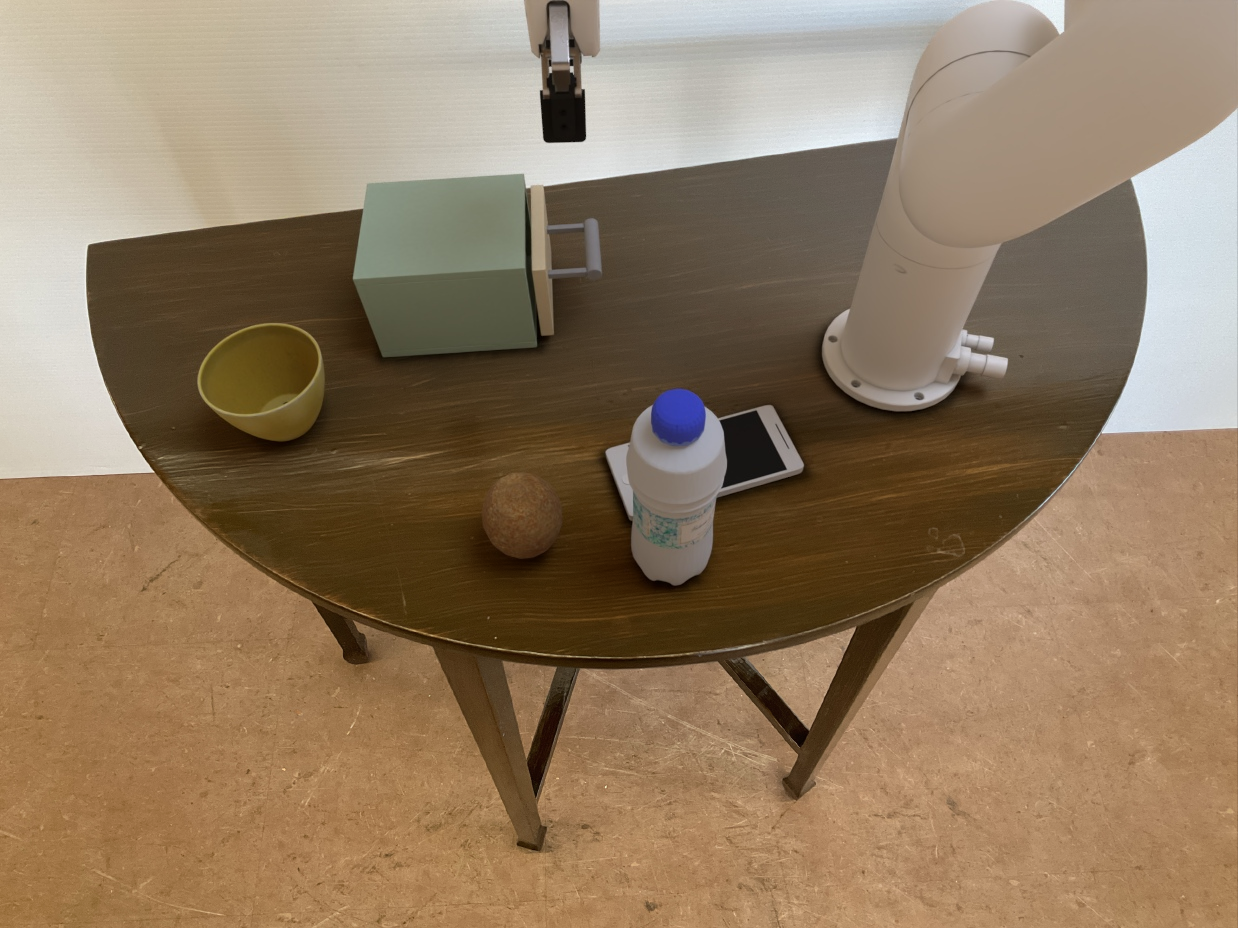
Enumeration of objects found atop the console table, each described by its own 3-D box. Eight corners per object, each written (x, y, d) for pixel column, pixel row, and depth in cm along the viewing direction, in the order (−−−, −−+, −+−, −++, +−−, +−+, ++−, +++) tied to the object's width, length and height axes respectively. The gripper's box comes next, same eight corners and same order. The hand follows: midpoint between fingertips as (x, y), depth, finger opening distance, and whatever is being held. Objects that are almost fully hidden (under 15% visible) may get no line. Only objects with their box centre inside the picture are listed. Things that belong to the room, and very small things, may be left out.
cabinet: (535, 255, 88) (524, 173, 80) (537, 347, 81) (524, 268, 73) (393, 264, 88) (366, 183, 79) (382, 357, 81) (352, 279, 72)
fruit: (520, 590, 67) (506, 541, 60) (474, 537, 70) (457, 484, 63) (582, 544, 69) (575, 492, 62) (535, 494, 72) (524, 439, 65)
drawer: (599, 248, 87) (595, 181, 80) (605, 331, 81) (602, 266, 74) (418, 260, 87) (398, 193, 80) (410, 344, 80) (388, 279, 73)
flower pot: (367, 417, 77) (344, 365, 71) (271, 486, 73) (238, 437, 67) (305, 358, 81) (278, 305, 75) (210, 420, 77) (174, 369, 71)
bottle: (681, 610, 66) (694, 466, 49) (611, 564, 68) (602, 411, 51) (729, 548, 69) (756, 392, 52) (661, 506, 71) (666, 343, 54)
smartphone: (604, 454, 74) (604, 448, 73) (770, 409, 76) (771, 402, 75) (630, 523, 70) (630, 517, 69) (803, 472, 72) (805, 466, 71)
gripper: (620, -84, 48) (617, 171, 62) (605, -209, 57) (605, 37, 72) (485, -82, 47) (514, 174, 62) (492, -208, 57) (516, 39, 71)
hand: (563, 101), depth 67 cm, fingers open, 9 cm apart
